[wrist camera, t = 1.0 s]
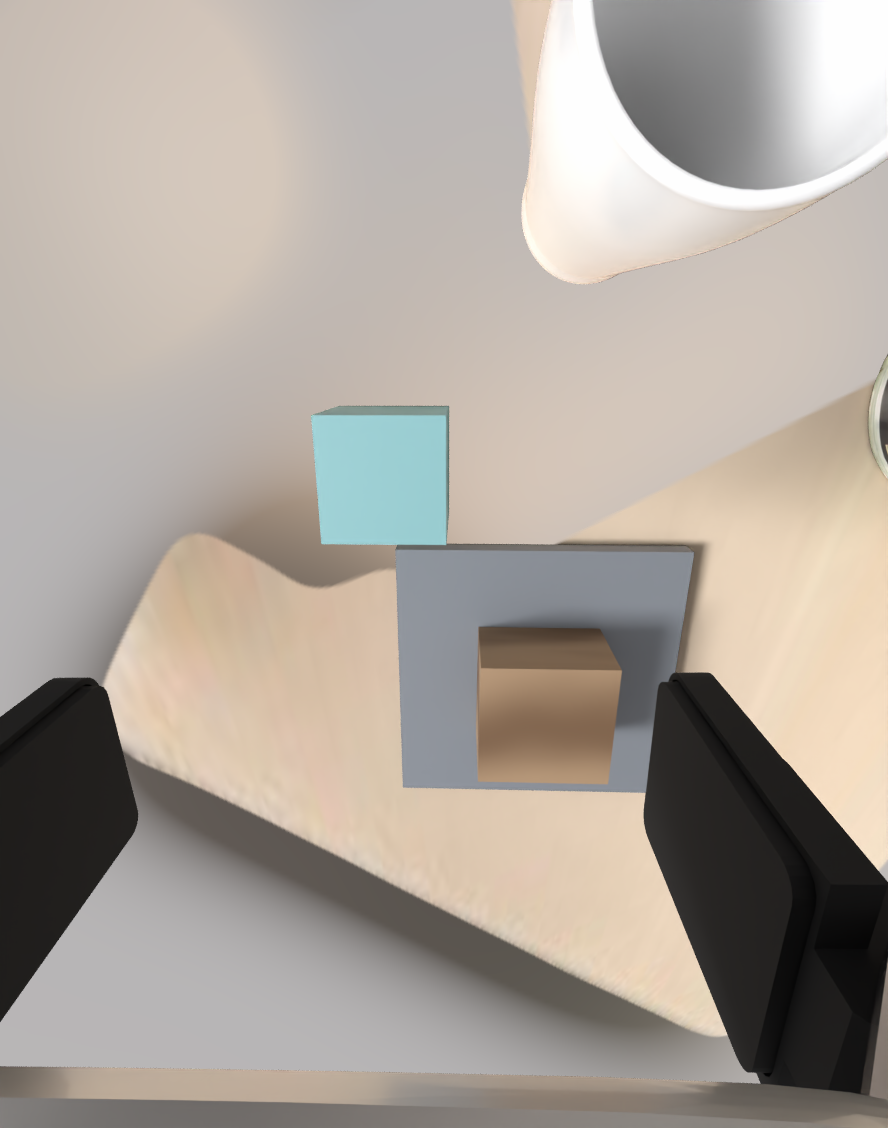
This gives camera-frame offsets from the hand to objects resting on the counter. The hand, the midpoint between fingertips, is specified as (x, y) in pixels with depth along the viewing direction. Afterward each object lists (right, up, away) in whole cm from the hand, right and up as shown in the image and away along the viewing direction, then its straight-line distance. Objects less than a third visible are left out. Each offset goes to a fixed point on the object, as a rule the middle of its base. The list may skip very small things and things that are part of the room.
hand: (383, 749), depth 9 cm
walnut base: (+6, -3, +19) cm, 20 cm away
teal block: (-1, +8, +17) cm, 18 cm away
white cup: (+7, +17, +13) cm, 23 cm away
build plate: (+6, -2, +20) cm, 21 cm away
